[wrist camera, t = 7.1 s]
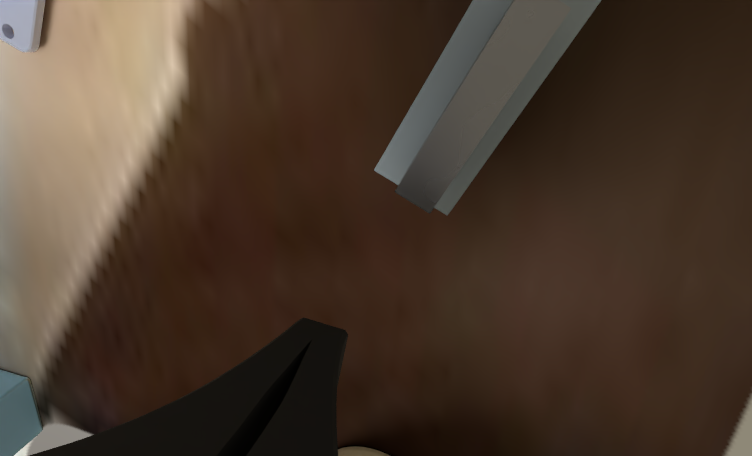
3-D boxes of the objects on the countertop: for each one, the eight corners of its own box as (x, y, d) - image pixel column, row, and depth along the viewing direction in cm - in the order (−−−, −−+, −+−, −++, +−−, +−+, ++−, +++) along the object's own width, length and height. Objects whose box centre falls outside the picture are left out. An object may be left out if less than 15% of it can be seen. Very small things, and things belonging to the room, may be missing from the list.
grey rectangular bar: (405, 172, 12) (394, 191, 10) (517, -8, 9) (526, -21, 8) (435, 191, 12) (429, 213, 10) (554, 15, 10) (571, 8, 8)
